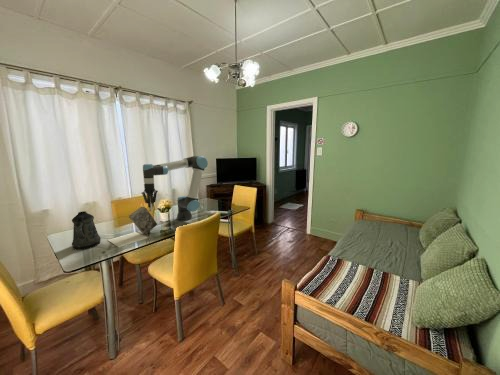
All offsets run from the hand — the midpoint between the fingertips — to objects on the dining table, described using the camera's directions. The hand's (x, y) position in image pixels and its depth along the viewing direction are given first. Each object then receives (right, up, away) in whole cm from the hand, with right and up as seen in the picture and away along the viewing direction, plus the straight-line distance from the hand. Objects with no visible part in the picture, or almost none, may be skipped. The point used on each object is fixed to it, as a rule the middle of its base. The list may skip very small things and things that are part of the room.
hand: (151, 210), depth 174 cm
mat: (-11, -21, -12) cm, 27 cm away
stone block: (-1, -16, +1) cm, 16 cm away
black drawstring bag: (-35, -23, -23) cm, 48 cm away
